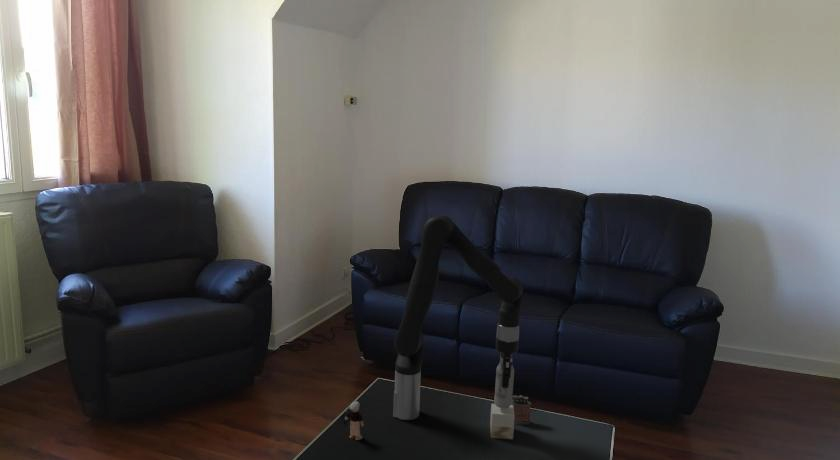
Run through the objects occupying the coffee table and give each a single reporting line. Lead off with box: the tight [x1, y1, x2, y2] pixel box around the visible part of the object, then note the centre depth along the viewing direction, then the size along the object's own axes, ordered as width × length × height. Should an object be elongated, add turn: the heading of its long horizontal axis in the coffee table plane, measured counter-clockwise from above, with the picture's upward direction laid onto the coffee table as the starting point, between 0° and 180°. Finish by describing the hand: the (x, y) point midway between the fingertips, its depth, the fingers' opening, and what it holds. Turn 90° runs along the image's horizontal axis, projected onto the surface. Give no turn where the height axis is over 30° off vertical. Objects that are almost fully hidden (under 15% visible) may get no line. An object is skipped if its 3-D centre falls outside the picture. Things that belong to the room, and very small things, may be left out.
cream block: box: [490, 403, 515, 429], centre depth 209 cm, size 8×8×4 cm
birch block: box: [489, 420, 515, 440], centre depth 210 cm, size 8×8×4 cm
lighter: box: [511, 394, 532, 425], centre depth 217 cm, size 8×3×10 cm, turn 84°
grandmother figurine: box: [344, 401, 365, 441], centre depth 203 cm, size 8×4×13 cm, turn 71°
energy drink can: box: [493, 361, 515, 408], centre depth 207 cm, size 6×6×15 cm
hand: (504, 383), depth 207 cm, fingers closed on energy drink can, 6 cm apart
